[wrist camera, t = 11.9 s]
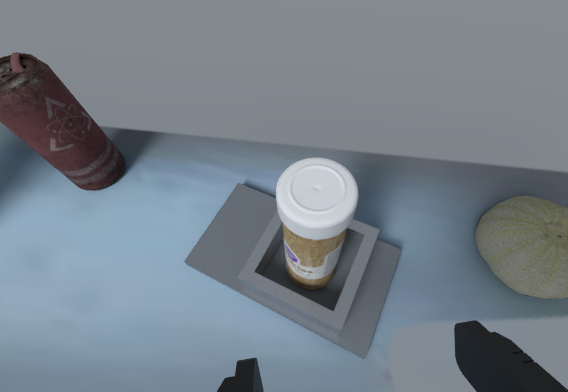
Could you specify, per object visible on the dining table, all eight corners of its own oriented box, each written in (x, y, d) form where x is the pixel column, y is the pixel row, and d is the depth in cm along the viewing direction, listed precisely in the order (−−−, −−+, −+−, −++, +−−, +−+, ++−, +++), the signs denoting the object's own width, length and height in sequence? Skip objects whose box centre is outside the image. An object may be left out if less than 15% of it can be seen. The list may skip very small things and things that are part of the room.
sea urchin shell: (604, 221, 27) (664, 247, 20) (549, 289, 30) (586, 334, 23) (496, 178, 30) (515, 188, 23) (455, 243, 33) (461, 270, 26)
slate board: (363, 358, 24) (365, 358, 23) (187, 265, 30) (184, 261, 29) (398, 253, 29) (401, 249, 28) (240, 187, 34) (238, 183, 33)
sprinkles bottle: (276, 269, 28) (257, 192, 16) (307, 234, 29) (310, 141, 18) (315, 302, 26) (325, 243, 14) (346, 263, 28) (377, 182, 16)
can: (126, 145, 39) (45, 41, 27) (127, 184, 35) (35, 85, 24) (78, 158, 38) (-27, 58, 26) (75, 198, 35) (-47, 104, 23)
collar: (337, 336, 24) (341, 331, 22) (244, 287, 27) (237, 277, 25) (373, 243, 28) (380, 229, 26) (288, 208, 31) (287, 192, 28)
